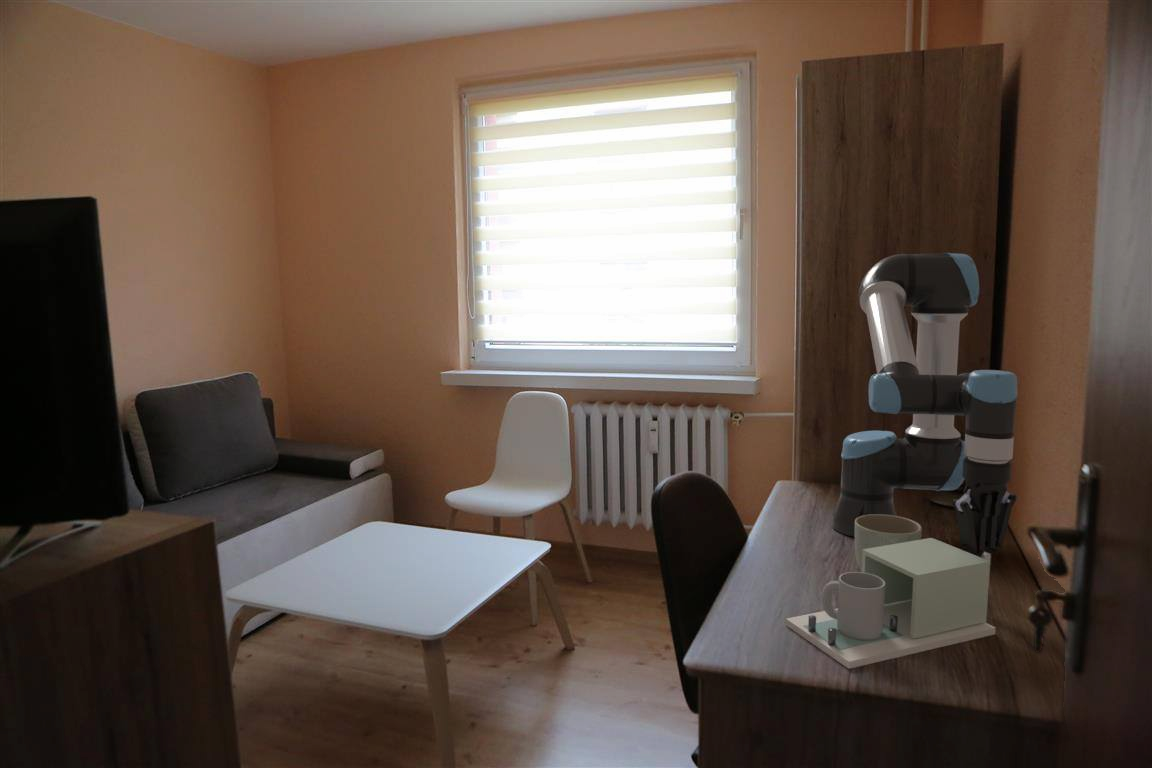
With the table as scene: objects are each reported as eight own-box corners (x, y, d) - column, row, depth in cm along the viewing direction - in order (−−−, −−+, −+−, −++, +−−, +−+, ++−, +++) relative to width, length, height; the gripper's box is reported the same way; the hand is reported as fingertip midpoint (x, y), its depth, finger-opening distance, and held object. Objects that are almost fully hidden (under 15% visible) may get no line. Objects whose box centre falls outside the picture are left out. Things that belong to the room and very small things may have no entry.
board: (921, 597, 143) (921, 590, 143) (995, 634, 128) (995, 627, 128) (785, 625, 132) (785, 618, 132) (848, 668, 117) (849, 661, 117)
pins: (872, 616, 132) (872, 602, 132) (898, 631, 127) (899, 617, 126) (806, 630, 128) (807, 616, 127) (831, 646, 122) (831, 632, 122)
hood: (928, 593, 141) (931, 537, 139) (986, 621, 129) (990, 561, 128) (859, 607, 135) (862, 549, 134) (913, 638, 124) (917, 575, 122)
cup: (878, 645, 122) (880, 592, 121) (815, 630, 127) (816, 580, 126) (886, 627, 128) (888, 577, 127) (826, 614, 133) (827, 565, 132)
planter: (842, 564, 159) (844, 515, 158) (899, 562, 160) (902, 513, 159) (869, 589, 147) (871, 535, 145) (930, 586, 148) (934, 532, 146)
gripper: (996, 450, 139) (988, 573, 142) (941, 457, 134) (934, 584, 138) (1033, 459, 132) (1024, 588, 135) (977, 467, 127) (969, 600, 131)
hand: (978, 586), depth 136 cm, fingers closed
